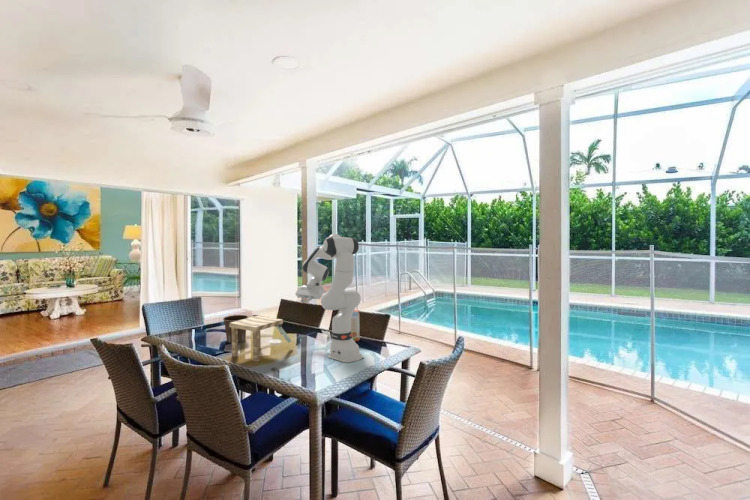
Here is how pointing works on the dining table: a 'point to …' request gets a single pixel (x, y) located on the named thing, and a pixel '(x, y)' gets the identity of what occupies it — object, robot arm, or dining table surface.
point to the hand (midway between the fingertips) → (303, 302)
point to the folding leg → (283, 333)
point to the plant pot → (229, 330)
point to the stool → (255, 326)
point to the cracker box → (355, 325)
